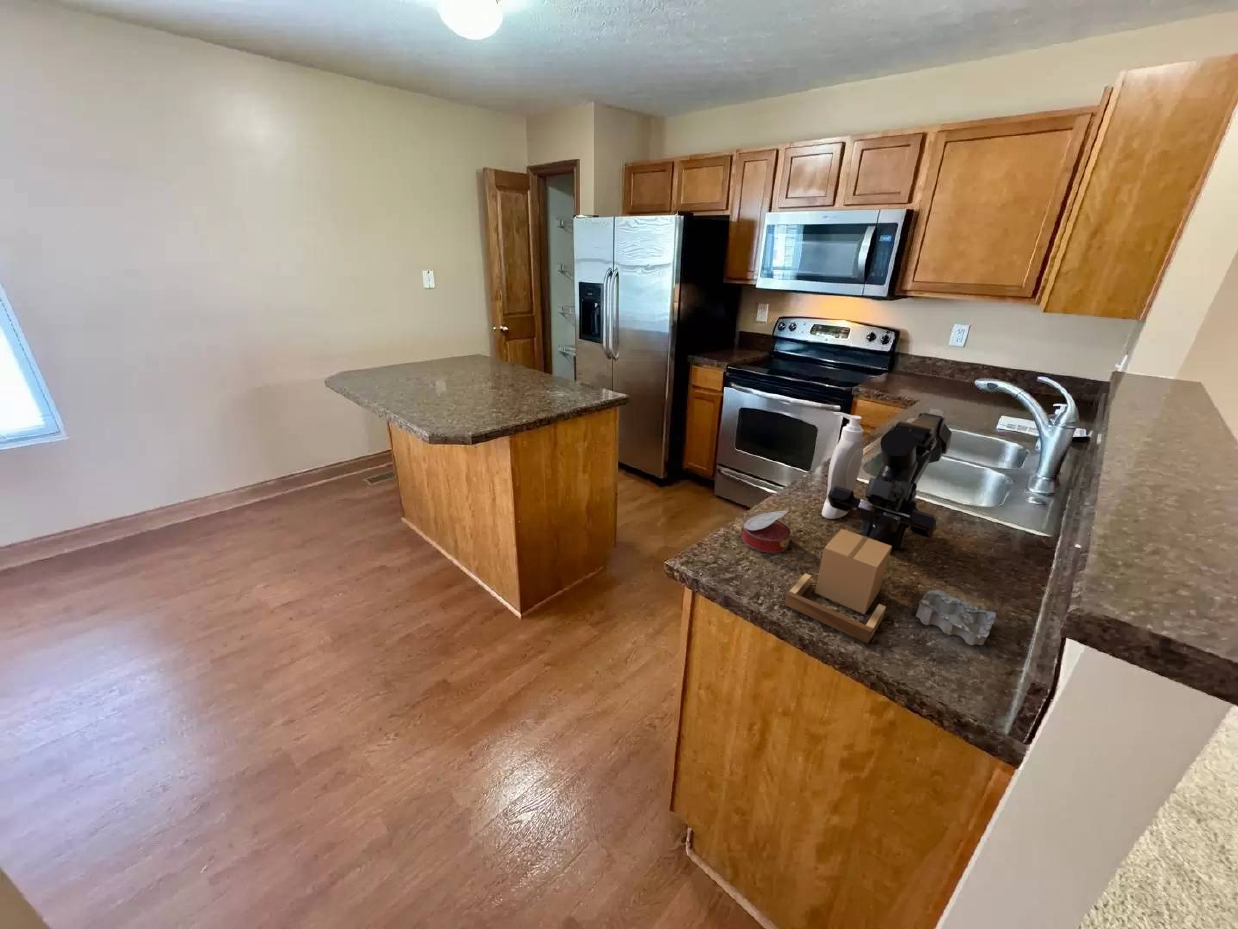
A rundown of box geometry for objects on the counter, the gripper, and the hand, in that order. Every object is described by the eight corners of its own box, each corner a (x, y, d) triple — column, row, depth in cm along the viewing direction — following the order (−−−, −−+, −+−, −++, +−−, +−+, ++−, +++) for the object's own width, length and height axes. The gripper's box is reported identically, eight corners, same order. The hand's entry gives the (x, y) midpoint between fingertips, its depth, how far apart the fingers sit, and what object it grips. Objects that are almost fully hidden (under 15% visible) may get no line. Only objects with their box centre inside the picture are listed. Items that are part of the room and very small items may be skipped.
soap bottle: (827, 496, 132) (846, 405, 123) (857, 507, 127) (879, 413, 117) (802, 512, 124) (820, 416, 114) (833, 524, 119) (855, 425, 109)
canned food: (759, 570, 110) (746, 539, 104) (741, 541, 118) (727, 511, 113) (807, 547, 109) (796, 514, 104) (785, 519, 117) (774, 488, 112)
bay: (803, 583, 98) (805, 573, 97) (882, 618, 90) (886, 606, 89) (784, 605, 92) (786, 594, 91) (867, 644, 84) (871, 632, 83)
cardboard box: (831, 571, 102) (841, 528, 98) (879, 590, 97) (892, 545, 93) (814, 593, 96) (824, 547, 91) (864, 614, 90) (877, 567, 86)
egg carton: (910, 618, 90) (916, 599, 88) (925, 600, 94) (931, 582, 93) (980, 652, 83) (988, 632, 81) (993, 630, 87) (1000, 611, 86)
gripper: (840, 447, 99) (808, 517, 96) (950, 475, 88) (918, 556, 85) (846, 473, 108) (816, 538, 104) (946, 501, 97) (917, 575, 93)
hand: (863, 550), depth 97 cm, fingers closed, pressing on cardboard box
